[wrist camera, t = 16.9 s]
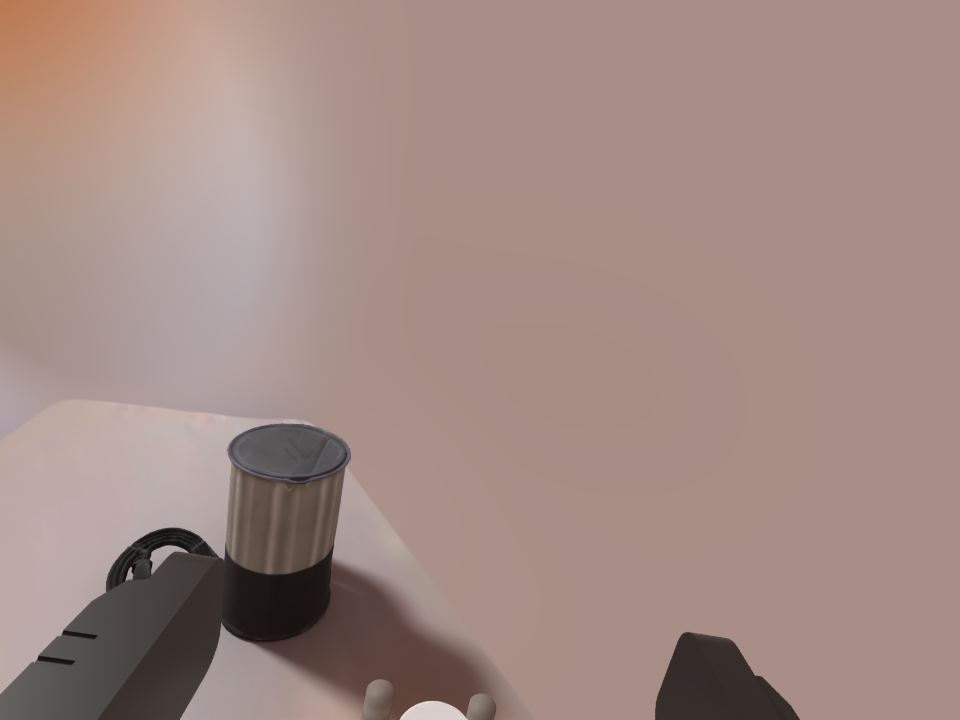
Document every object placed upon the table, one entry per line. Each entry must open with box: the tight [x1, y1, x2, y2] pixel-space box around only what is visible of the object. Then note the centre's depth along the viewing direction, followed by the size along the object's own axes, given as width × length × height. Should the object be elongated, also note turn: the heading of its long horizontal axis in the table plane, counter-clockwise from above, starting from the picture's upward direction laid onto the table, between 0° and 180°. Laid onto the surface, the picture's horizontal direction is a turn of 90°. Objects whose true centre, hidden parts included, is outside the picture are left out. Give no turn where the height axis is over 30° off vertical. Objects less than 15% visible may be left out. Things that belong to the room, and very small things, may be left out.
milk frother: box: [106, 423, 351, 641], centre depth 42 cm, size 14×16×15 cm
